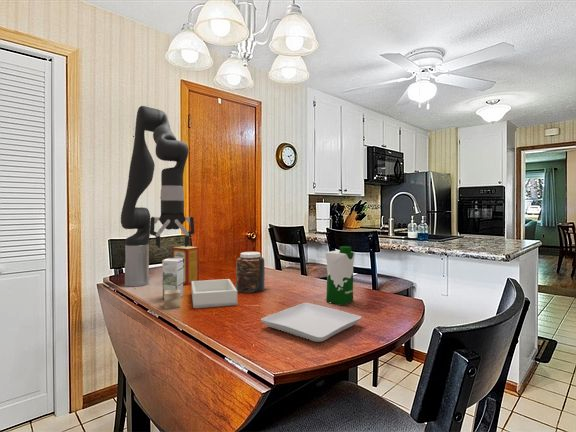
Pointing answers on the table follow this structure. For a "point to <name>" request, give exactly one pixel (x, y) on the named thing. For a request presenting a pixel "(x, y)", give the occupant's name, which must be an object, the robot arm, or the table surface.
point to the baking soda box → (188, 262)
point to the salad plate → (311, 321)
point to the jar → (250, 272)
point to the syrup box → (172, 275)
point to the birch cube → (172, 298)
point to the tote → (213, 293)
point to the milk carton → (340, 275)
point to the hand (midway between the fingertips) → (172, 247)
